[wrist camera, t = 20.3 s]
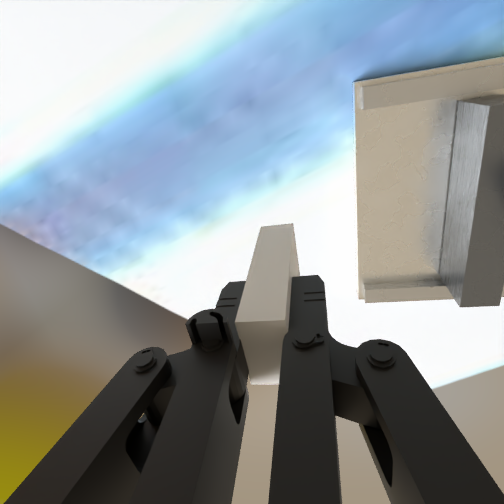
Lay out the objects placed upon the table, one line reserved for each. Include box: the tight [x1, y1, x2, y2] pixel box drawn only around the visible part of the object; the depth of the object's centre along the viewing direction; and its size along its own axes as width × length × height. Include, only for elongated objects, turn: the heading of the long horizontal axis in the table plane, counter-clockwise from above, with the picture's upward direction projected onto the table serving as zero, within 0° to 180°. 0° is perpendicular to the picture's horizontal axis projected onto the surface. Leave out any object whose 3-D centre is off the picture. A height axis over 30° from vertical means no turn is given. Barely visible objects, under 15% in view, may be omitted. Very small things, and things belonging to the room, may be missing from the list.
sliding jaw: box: [440, 94, 504, 307], centre depth 27 cm, size 16×3×5 cm, turn 9°
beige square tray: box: [352, 56, 504, 303], centre depth 27 cm, size 21×22×6 cm
